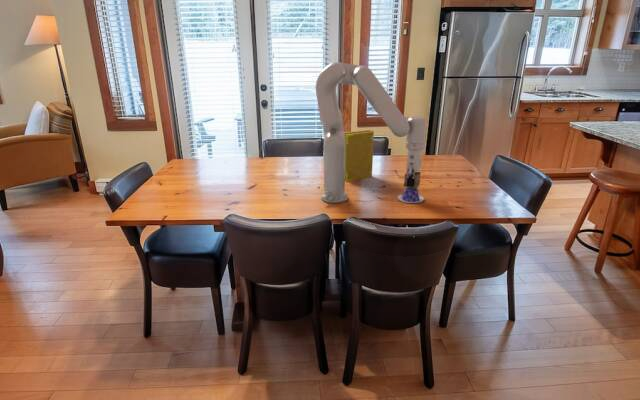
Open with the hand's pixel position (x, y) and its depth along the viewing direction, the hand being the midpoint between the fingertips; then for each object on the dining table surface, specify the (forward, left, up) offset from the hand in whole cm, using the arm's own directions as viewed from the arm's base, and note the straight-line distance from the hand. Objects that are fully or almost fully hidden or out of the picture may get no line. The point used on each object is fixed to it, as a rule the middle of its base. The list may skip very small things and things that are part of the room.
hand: (411, 183), depth 170 cm
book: (+20, +33, -8) cm, 39 cm away
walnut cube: (0, 0, -1) cm, 1 cm away
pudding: (0, 0, -8) cm, 8 cm away
